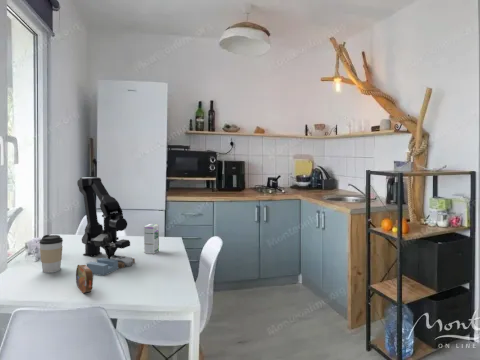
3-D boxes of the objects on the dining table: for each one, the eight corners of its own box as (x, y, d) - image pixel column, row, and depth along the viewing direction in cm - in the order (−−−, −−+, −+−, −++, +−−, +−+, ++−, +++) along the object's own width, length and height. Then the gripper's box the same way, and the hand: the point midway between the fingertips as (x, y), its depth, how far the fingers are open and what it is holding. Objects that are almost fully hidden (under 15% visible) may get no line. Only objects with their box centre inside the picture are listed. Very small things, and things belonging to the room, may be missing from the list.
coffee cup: (68, 268, 152) (67, 234, 151) (50, 274, 143) (50, 239, 142) (52, 265, 155) (52, 232, 154) (34, 271, 146) (33, 237, 145)
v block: (86, 272, 147) (86, 263, 146) (101, 266, 155) (101, 257, 155) (103, 275, 144) (103, 266, 143) (118, 269, 152) (118, 260, 152)
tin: (75, 283, 134) (75, 262, 134) (83, 281, 136) (83, 261, 136) (85, 296, 123) (85, 273, 122) (94, 294, 124) (94, 271, 124)
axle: (110, 264, 159) (109, 257, 158) (116, 260, 162) (115, 253, 161) (128, 267, 155) (127, 260, 154) (133, 263, 159) (132, 255, 158)
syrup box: (154, 254, 176) (154, 226, 175) (143, 253, 177) (143, 225, 176) (159, 251, 182) (159, 224, 181) (148, 250, 183) (148, 223, 182)
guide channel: (98, 264, 158) (98, 260, 157) (112, 259, 166) (112, 255, 166) (122, 268, 153) (122, 263, 153) (134, 262, 162) (134, 258, 162)
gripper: (81, 228, 155) (81, 262, 156) (114, 232, 149) (114, 267, 150) (99, 224, 166) (99, 256, 167) (131, 228, 159) (130, 260, 161)
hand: (110, 260), depth 161 cm, fingers closed
